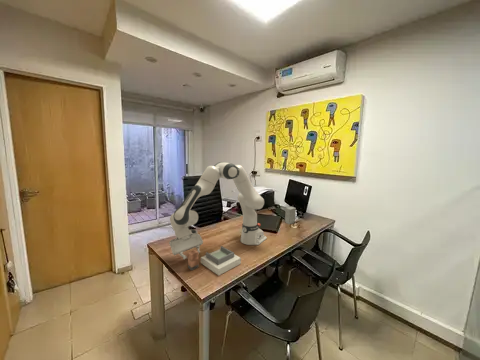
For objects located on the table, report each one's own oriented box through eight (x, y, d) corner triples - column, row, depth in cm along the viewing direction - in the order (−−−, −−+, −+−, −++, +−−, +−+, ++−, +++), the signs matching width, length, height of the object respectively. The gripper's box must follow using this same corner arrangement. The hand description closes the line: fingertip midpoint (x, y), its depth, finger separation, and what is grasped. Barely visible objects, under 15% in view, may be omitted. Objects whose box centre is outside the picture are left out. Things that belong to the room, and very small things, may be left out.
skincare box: (290, 221, 209) (291, 206, 207) (295, 223, 203) (296, 207, 200) (284, 222, 205) (285, 207, 203) (289, 224, 199) (289, 209, 196)
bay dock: (222, 253, 142) (222, 243, 141) (240, 263, 130) (240, 253, 129) (200, 263, 130) (200, 252, 129) (218, 275, 117) (218, 264, 116)
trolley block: (195, 264, 128) (194, 249, 126) (198, 267, 125) (198, 252, 124) (188, 267, 124) (187, 252, 123) (191, 270, 122) (191, 254, 120)
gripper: (169, 238, 121) (178, 260, 115) (199, 229, 135) (207, 248, 129) (166, 243, 124) (174, 264, 119) (195, 233, 139) (203, 252, 133)
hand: (192, 255), depth 124 cm, fingers open, 8 cm apart
